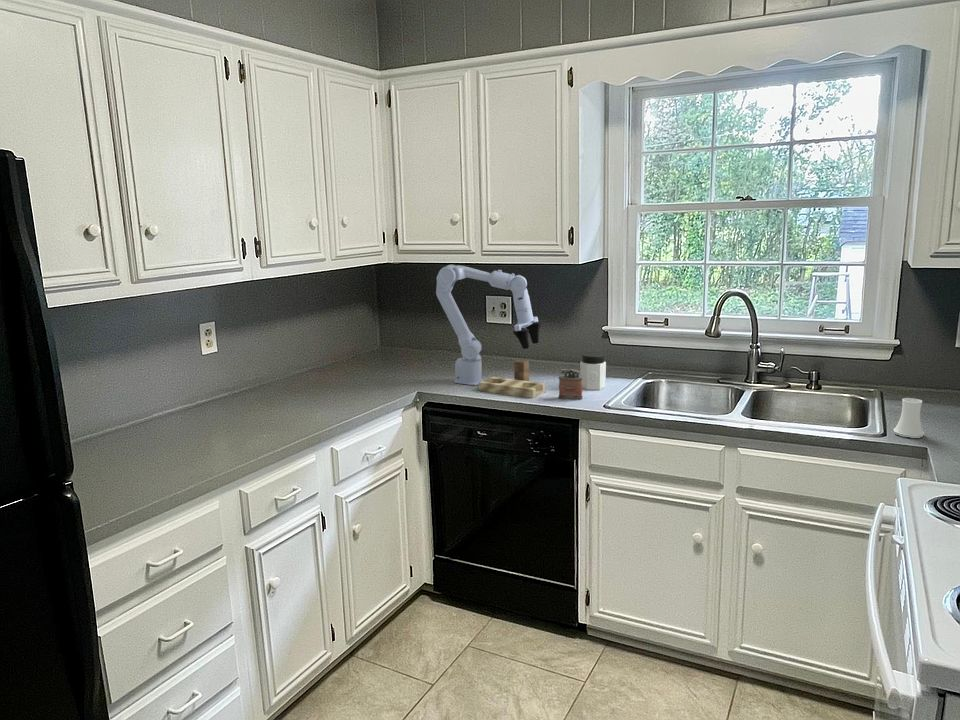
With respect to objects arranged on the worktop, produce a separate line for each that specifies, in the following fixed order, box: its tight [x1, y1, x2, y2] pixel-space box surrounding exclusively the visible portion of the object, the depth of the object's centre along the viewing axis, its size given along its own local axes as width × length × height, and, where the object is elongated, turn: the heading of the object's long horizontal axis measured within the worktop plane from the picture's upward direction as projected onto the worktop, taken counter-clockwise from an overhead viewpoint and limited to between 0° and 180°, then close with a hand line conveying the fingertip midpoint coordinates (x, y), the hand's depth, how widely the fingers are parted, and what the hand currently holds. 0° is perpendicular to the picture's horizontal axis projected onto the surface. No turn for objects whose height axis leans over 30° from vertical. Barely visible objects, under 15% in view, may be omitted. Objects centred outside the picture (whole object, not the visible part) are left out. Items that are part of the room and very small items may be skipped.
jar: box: [579, 351, 607, 391], centre depth 261 cm, size 9×8×12 cm
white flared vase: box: [892, 397, 925, 436], centre depth 204 cm, size 8×8×10 cm
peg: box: [513, 359, 530, 381], centre depth 270 cm, size 4×4×8 cm
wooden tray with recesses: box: [478, 376, 546, 399], centre depth 258 cm, size 22×10×3 cm, turn 59°
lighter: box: [558, 368, 583, 401], centre depth 247 cm, size 8×3×10 cm, turn 74°
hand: (530, 345), depth 265 cm, fingers open, 7 cm apart
